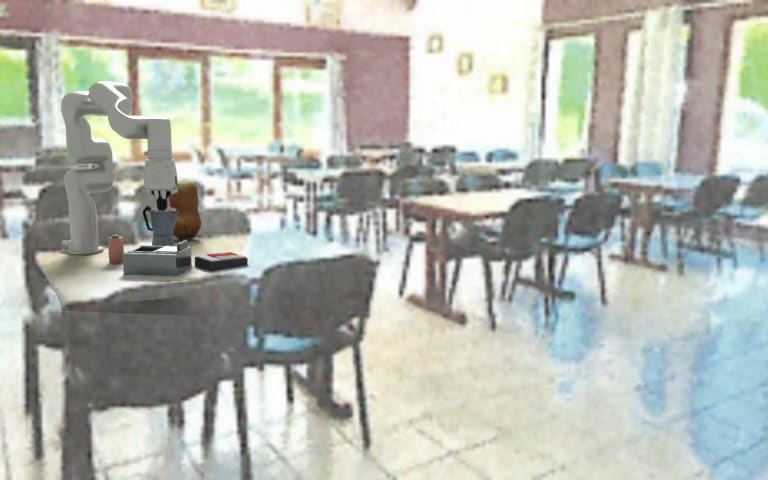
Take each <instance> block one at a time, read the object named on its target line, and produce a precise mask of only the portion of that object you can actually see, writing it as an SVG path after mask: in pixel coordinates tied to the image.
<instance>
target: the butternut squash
mask: <svg viewBox="0 0 768 480" xmlns="http://www.w3.org/2000/svg"><path fill="white" fill-rule="evenodd" d="M171 190H172V189H171ZM177 190H178V192H177V193H174V194H171V195H170V196H169V197H168V202H169V206H170V208H174V209H176V210H177V211H178V212H179V213H178V214H177V217H176V219H175V226H174V229H173V236H174V238H177V239H179V240H182V241H184V240H188V241H190V240H192V239H195V238H196V237H197V235H198V233H199V231H200V230H201V226H202V220H201V217H200V216H201V215H200V213H199V195H198V188H197V185H196V183H195V182H194V181H192V180H188V179H186V180H180V181H178V186H177ZM169 191H170V190H169Z"/></svg>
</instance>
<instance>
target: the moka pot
mask: <svg viewBox="0 0 768 480" xmlns="http://www.w3.org/2000/svg"><path fill="white" fill-rule="evenodd" d="M147 211H148V212H150V220H151V227H150V224H149V219H148V216H147ZM178 213H179V212H178V211H177V210H176V209H174V208H171V206H170V207H169V206H167V209H166V210H165V211H158V208H157V206H156V207H155V206H149V205H145V208H143V210H142V216H143V219H144V221H145V226H146V228H147V231H150V232H153V235H152V240H151V246H176V245H175V236H174V235H173V229H174V226H175V219H176V217H177V214H178Z"/></svg>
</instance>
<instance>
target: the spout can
mask: <svg viewBox="0 0 768 480" xmlns="http://www.w3.org/2000/svg"><path fill="white" fill-rule="evenodd" d="M107 245H108V247H107V248H108V250H107V251H108V262H109V264H110V265H123V254H122V253H124V252H125V251H124V249H125V246H124V237H123V236H120V235H119V234H113V235H111V236H109V237H107Z"/></svg>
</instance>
